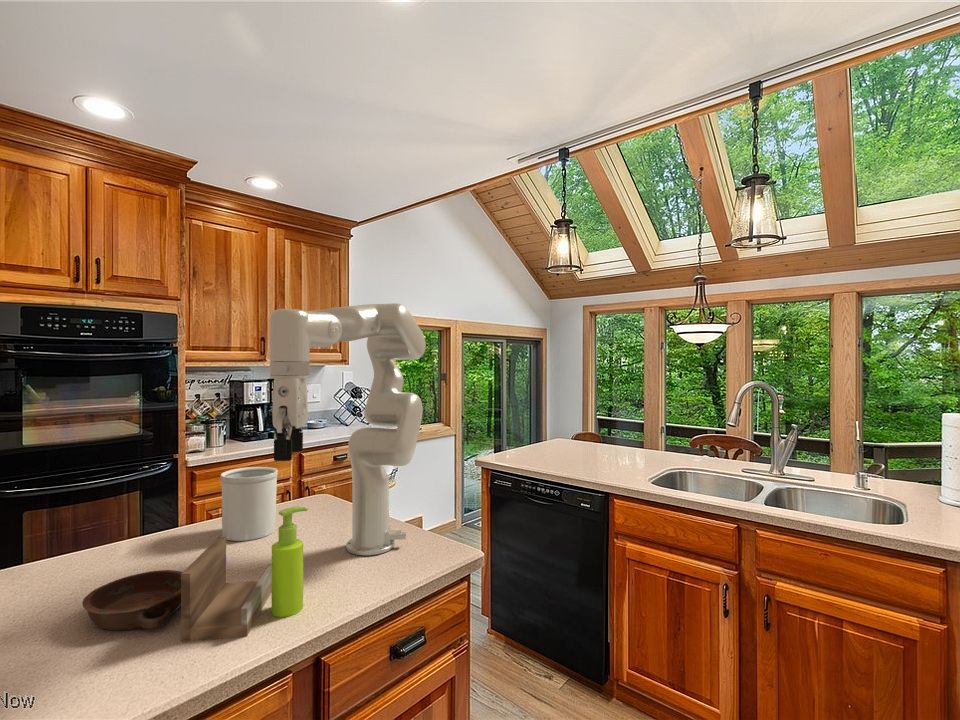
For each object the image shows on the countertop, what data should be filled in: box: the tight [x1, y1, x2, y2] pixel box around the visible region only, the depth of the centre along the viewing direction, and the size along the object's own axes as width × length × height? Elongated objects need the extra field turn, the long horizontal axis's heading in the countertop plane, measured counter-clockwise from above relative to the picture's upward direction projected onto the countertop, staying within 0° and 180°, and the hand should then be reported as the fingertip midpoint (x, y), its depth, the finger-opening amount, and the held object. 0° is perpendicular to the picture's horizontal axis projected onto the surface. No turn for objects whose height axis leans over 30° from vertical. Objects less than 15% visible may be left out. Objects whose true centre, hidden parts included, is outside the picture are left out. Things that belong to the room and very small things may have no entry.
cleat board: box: [180, 536, 272, 642], centre depth 96 cm, size 11×18×12 cm, turn 9°
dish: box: [81, 569, 184, 631], centre depth 96 cm, size 18×22×5 cm
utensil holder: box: [220, 466, 279, 542], centre depth 140 cm, size 15×15×18 cm
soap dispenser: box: [271, 506, 309, 618], centre depth 98 cm, size 6×7×20 cm
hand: (289, 455), depth 98 cm, fingers open, 9 cm apart
